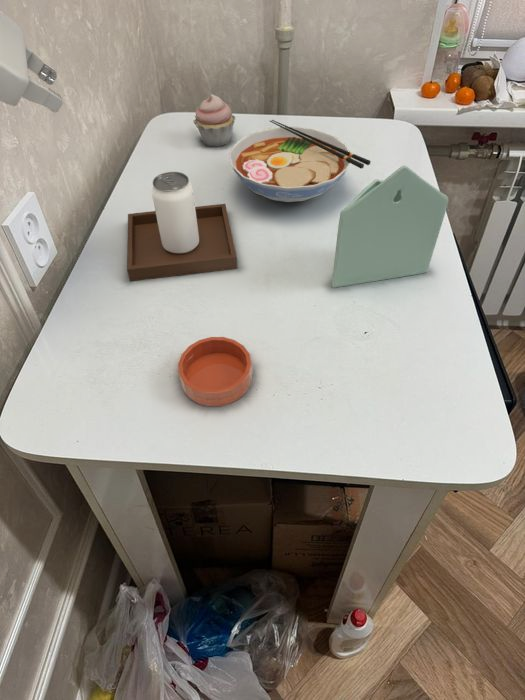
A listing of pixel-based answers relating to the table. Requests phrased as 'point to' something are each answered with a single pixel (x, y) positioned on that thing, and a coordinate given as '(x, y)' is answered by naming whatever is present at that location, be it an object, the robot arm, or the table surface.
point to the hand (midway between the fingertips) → (57, 91)
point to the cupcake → (214, 121)
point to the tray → (158, 262)
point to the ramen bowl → (291, 162)
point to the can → (175, 212)
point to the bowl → (215, 371)
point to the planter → (388, 230)
